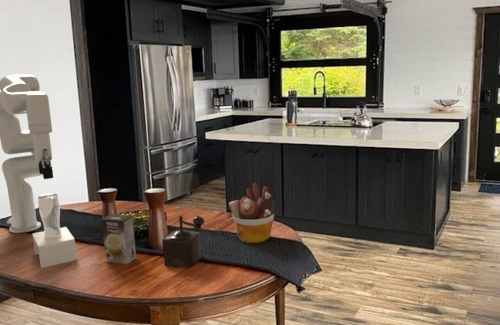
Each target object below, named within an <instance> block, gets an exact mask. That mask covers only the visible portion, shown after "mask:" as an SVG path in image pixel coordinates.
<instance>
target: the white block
mask: <svg viewBox="0 0 500 325" xmlns="http://www.w3.org/2000/svg"><path fill="white" fill-rule="evenodd" d="M60 229H61V232H62V235H61V236H59V237H56V238H45V237H44V230H43V231H39V232H33V233H32V234H31V235H32V240H33V247H34V254H35V255H36V256H37V255H38V256H39V263H40V268H41V269H42V268H47V267H52V266H56V265H61V264H64V263H69V262H74V261H78V258H77V257H78V255H77V247H76V240H75V237H74V236H73V235H72V233H71V232H70V230H69V229H68V228H67V226H63V227H60Z"/></svg>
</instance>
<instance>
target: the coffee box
mask: <svg viewBox="0 0 500 325" xmlns="http://www.w3.org/2000/svg"><path fill="white" fill-rule="evenodd" d="M101 225H102V232H103V233H102V234H103V235H102V236H103V243H104V253H105V262H106V263H112V264H113V263H114V264H121V265H123V264H124V265H128V264H129V263H131V262H132V261H134V260H135V259H136V258H137V254H136V252H137V251H136V242H135V230H134V229H135V228H134V217H133V215H131V214H120V213H119V214H118V213H110V214H109V215H107V216H105V217H103V218H101Z"/></svg>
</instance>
